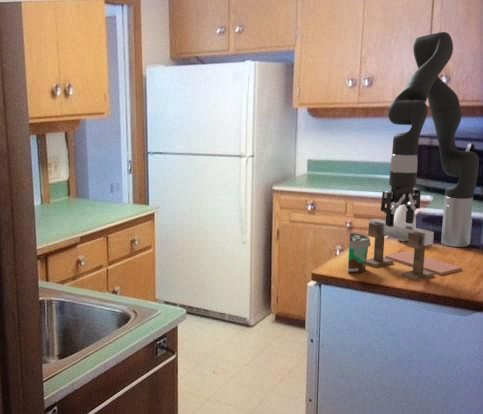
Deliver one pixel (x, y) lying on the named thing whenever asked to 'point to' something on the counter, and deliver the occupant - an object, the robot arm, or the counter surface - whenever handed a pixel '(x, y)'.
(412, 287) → the counter surface
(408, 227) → the steel rail
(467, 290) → the counter surface
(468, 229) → the robot arm
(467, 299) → the counter surface
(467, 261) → the counter surface
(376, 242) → the cradle stands
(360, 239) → the food container
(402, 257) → the rust mat
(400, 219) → the sauce bottle
